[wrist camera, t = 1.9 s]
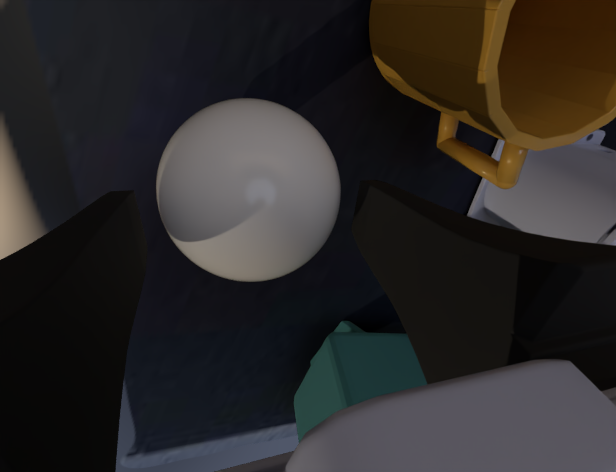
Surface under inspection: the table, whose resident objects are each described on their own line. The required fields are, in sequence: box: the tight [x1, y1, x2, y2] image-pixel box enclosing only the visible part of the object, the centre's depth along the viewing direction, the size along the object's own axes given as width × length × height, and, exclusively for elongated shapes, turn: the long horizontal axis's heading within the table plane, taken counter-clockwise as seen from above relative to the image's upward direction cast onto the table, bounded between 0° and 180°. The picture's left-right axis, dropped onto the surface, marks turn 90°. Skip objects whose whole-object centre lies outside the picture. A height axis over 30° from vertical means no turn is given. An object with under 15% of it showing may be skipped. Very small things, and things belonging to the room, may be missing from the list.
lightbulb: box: [156, 98, 341, 282], centre depth 14 cm, size 6×6×11 cm
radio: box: [294, 321, 427, 443], centre depth 31 cm, size 34×10×15 cm, turn 70°
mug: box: [369, 0, 616, 189], centre depth 15 cm, size 11×8×9 cm
